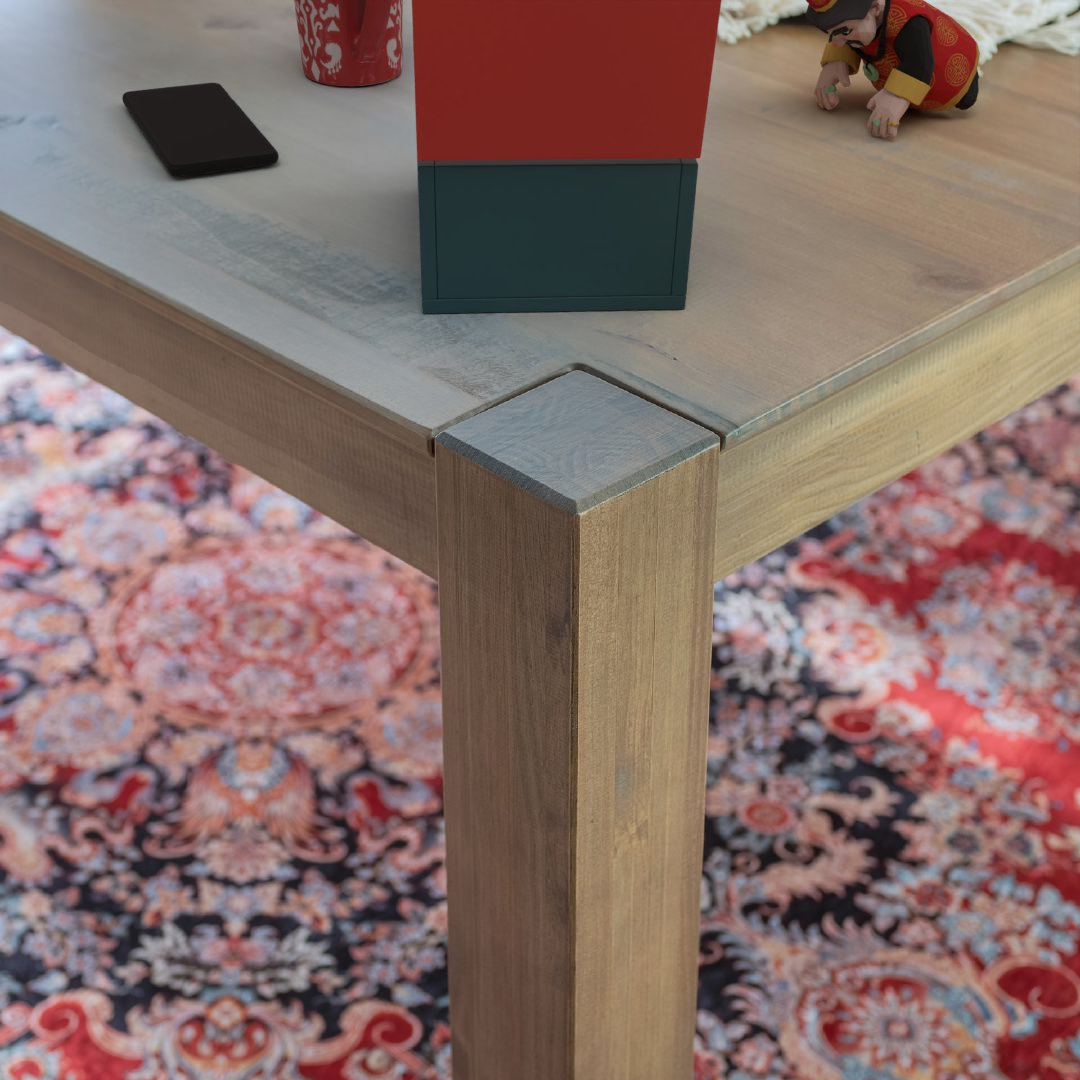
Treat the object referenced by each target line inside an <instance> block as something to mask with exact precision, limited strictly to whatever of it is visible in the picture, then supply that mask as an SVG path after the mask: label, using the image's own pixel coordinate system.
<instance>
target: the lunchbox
mask: <svg viewBox="0 0 1080 1080" xmlns="http://www.w3.org/2000/svg"><path fill="white" fill-rule="evenodd" d="M416 163H417V164H416V165H417V166H416V167H417V194H418V225H419V227H418V228H419V254H420V255H419V256H420V286H421V287H420V288H421V289H420V291H421V313H422V314H471V313H472V314H473V313H475V314H477V313H481V314H483V313H531V312H533V313H535V312H537V313H539V312H588V311H589V312H590V311H591V312H592V311H593V312H595V311H645V310H646V311H647V310H648V311H650V310H652V311H653V310H685V309H686V302H687V292H688V291H687V290H688V281H689V271H690V270H689V268H690V260H691V251H692V250H691V248H692V238H693V237H692V236H693V226H694V215H695V205H696V194H697V182H698V174H699V173H698V172H699V163H698V161H697V158H691V159H578V160H465V161H418V160H417V159H416Z"/></svg>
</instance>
